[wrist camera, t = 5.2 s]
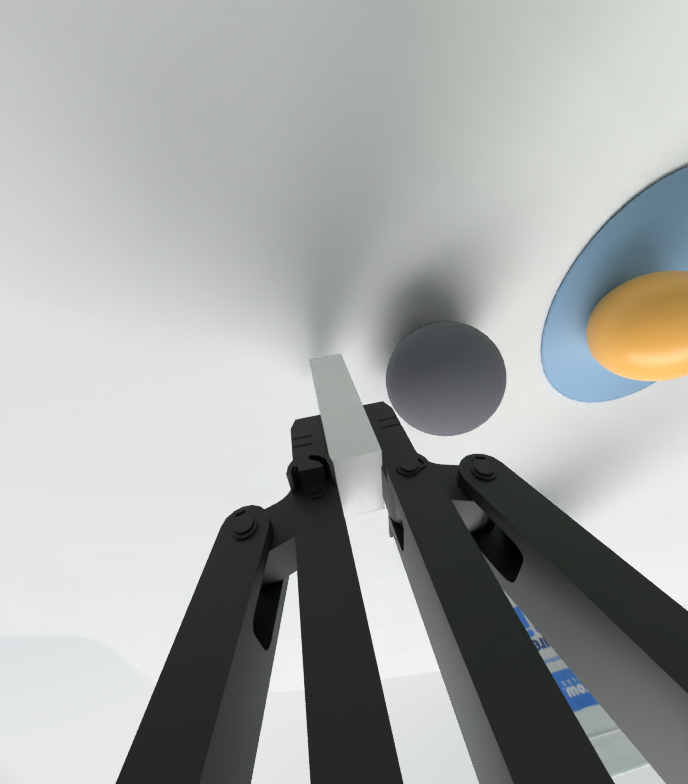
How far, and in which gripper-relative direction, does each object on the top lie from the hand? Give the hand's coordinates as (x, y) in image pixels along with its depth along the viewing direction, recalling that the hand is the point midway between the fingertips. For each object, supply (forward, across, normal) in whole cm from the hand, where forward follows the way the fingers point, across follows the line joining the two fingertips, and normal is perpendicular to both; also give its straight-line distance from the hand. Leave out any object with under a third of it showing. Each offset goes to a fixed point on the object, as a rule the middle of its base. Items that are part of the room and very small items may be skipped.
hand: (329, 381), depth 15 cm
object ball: (-1, +17, 0) cm, 17 cm away
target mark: (+2, +20, 0) cm, 20 cm away
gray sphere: (-1, +6, -1) cm, 6 cm away
